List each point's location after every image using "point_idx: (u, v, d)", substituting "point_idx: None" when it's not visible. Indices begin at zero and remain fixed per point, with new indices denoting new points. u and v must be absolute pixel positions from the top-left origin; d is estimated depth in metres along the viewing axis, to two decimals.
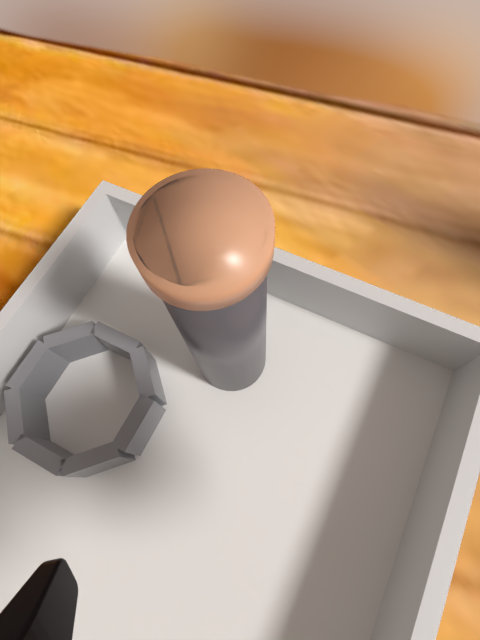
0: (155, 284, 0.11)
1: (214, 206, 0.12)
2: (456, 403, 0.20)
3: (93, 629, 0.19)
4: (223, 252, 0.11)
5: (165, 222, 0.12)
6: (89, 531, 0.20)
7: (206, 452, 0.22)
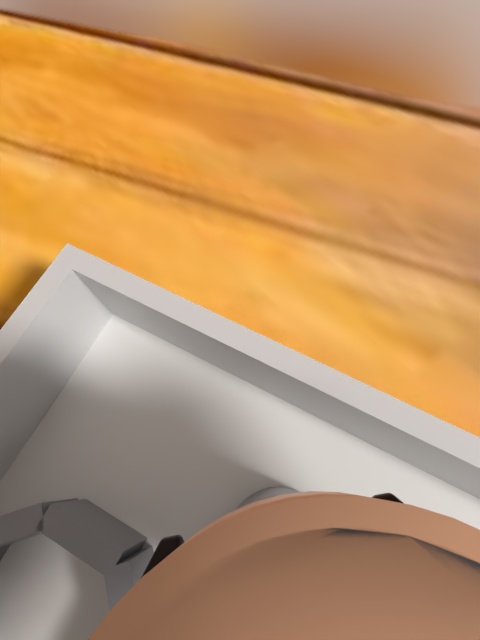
0: None
1: None
2: None
3: None
4: None
5: None
6: None
7: None
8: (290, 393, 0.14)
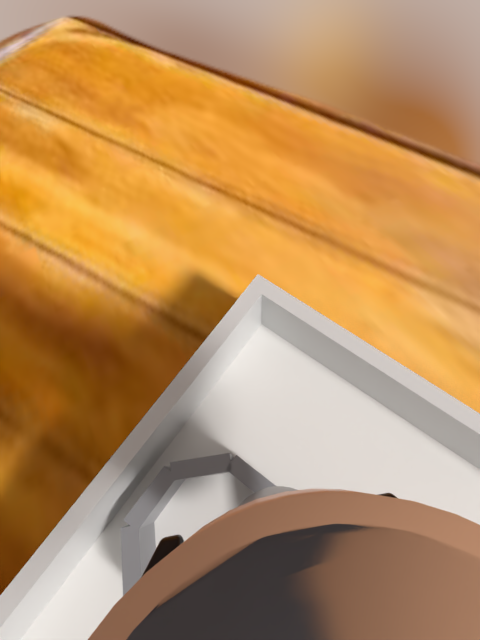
0: None
1: None
2: None
3: None
4: None
5: None
6: None
7: None
8: (403, 405, 0.20)
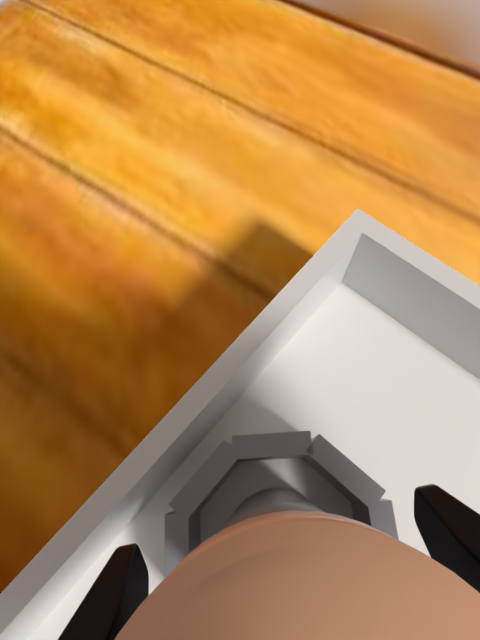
0: None
1: None
2: None
3: None
4: None
5: None
6: None
7: None
8: None
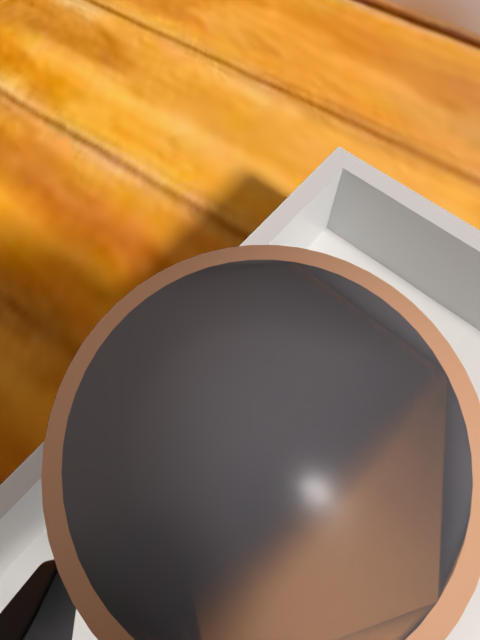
0: None
1: (299, 367, 0.04)
2: None
3: None
4: (339, 544, 0.04)
5: (158, 416, 0.04)
6: None
7: None
8: None
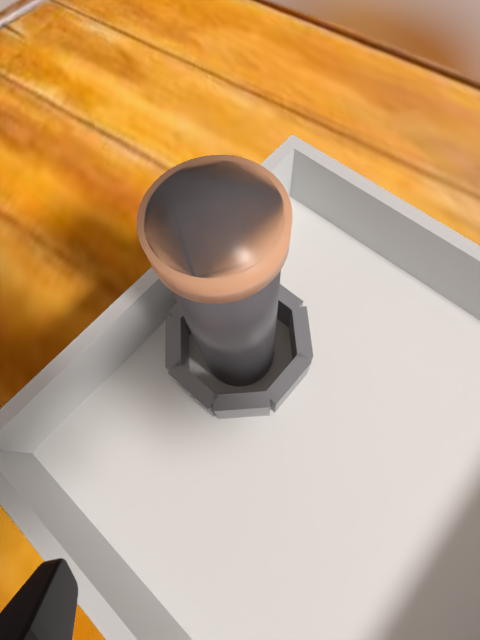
0: (167, 275, 0.11)
1: (228, 194, 0.11)
2: None
3: (208, 562, 0.19)
4: (238, 242, 0.11)
5: (177, 210, 0.11)
6: (215, 470, 0.21)
7: (341, 426, 0.21)
8: (407, 251, 0.23)
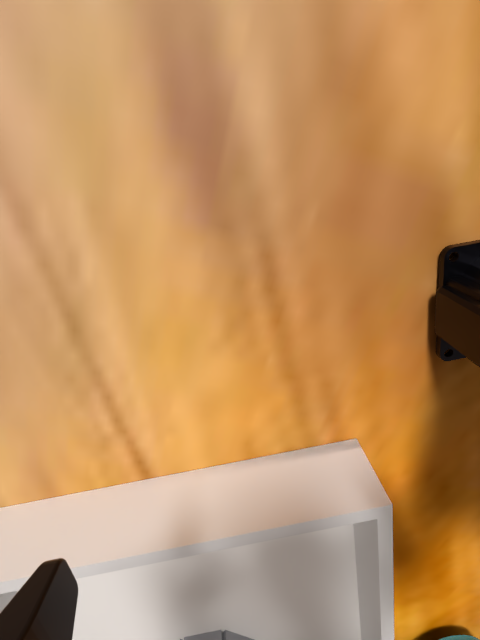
0: None
1: None
2: None
3: (320, 590, 0.28)
4: None
5: None
6: (279, 621, 0.29)
7: (188, 607, 0.28)
8: None
